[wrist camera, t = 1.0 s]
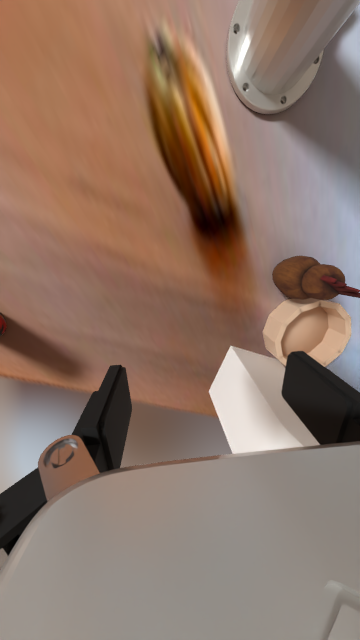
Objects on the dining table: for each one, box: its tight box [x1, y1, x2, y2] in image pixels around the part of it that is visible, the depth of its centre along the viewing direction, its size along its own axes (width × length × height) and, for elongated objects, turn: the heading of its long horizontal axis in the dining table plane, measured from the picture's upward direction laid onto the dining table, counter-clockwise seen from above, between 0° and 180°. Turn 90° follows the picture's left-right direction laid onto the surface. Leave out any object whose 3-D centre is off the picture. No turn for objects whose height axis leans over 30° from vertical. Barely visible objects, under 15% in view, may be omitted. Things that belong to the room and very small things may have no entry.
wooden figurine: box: [272, 256, 360, 300], centre depth 28 cm, size 7×6×15 cm
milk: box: [209, 346, 320, 454], centre depth 30 cm, size 12×12×26 cm
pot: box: [263, 298, 351, 367], centre depth 37 cm, size 14×14×5 cm
